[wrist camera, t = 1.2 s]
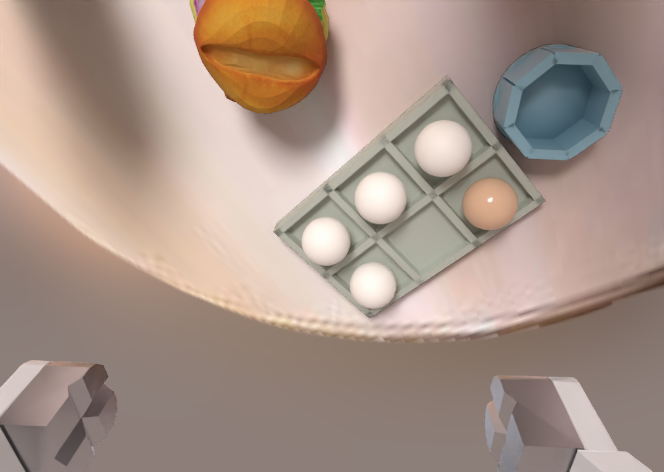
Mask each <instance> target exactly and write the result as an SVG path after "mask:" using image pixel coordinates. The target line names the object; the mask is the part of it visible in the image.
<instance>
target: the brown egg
mask: <svg viewBox="0 0 664 472" xmlns="http://www.w3.org/2000/svg"><path fill="white" fill-rule="evenodd" d="M517 208H518V198H517V194H516V192H515V190H514V189H513V187H512V186H511V185H510V184H509V183H507V182H506V181H504V180H502V179H499V178H495V177H487V178H482V179H479V180H477V181H475V182H474V183H472V184H471V185H470V186H469V187H468V188H467V190H466V191H465V193H464V196H463V199H462V209H463V213H464V215H465V217H466V219H467V220H468V221H469V222H470V223H471V224H472V225H474V226H475V227H477V228H480V229H483V230H495V229H499V228H501V227H504V226H505V225H507V224H508V223H509V222H510V221H511V220H512V219H513V218H514V216H515V214H516V212H517Z"/></svg>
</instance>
